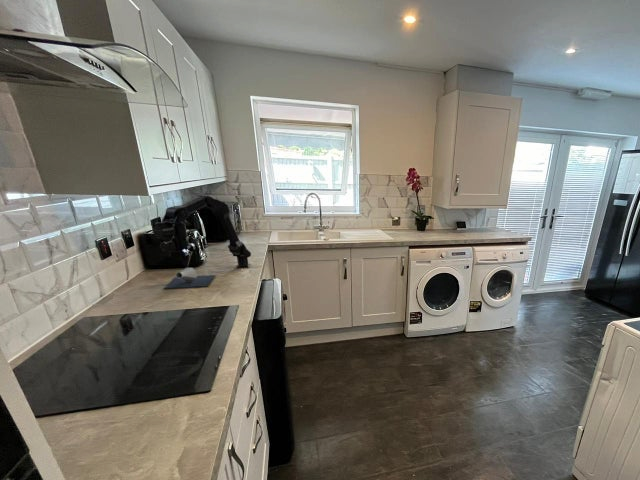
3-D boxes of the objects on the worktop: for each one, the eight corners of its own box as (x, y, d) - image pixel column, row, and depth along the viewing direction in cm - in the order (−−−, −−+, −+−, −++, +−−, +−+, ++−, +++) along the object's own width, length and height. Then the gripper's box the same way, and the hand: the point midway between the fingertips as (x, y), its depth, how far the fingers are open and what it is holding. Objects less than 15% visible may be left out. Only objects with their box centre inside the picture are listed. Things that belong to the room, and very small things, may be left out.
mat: (176, 277, 168) (176, 276, 168) (215, 276, 173) (214, 275, 173) (164, 289, 152) (164, 288, 152) (207, 286, 158) (207, 285, 157)
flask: (179, 269, 161) (167, 270, 151) (193, 265, 162) (183, 265, 152) (185, 283, 162) (174, 284, 152) (199, 279, 163) (189, 280, 153)
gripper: (166, 231, 158) (173, 262, 163) (152, 238, 141) (160, 273, 147) (192, 231, 161) (198, 262, 166) (181, 238, 144) (188, 272, 150)
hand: (186, 267), depth 157 cm, fingers closed
